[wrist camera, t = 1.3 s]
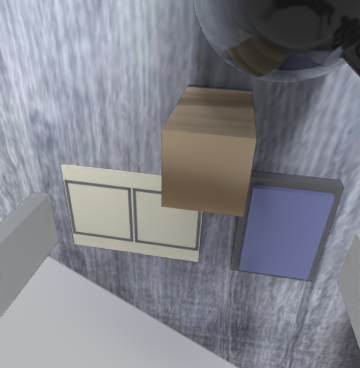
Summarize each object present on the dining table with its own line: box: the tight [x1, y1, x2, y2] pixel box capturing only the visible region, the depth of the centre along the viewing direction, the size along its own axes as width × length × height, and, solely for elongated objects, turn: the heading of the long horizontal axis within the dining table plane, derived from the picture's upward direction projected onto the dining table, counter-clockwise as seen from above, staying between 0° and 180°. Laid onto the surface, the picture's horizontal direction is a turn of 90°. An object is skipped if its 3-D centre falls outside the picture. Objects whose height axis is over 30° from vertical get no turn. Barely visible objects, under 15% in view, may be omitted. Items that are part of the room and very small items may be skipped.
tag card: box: [61, 164, 203, 262], centre depth 33 cm, size 10×14×1 cm
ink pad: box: [231, 171, 344, 281], centre depth 30 cm, size 11×8×2 cm
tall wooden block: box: [161, 85, 257, 217], centre depth 23 cm, size 5×5×10 cm
